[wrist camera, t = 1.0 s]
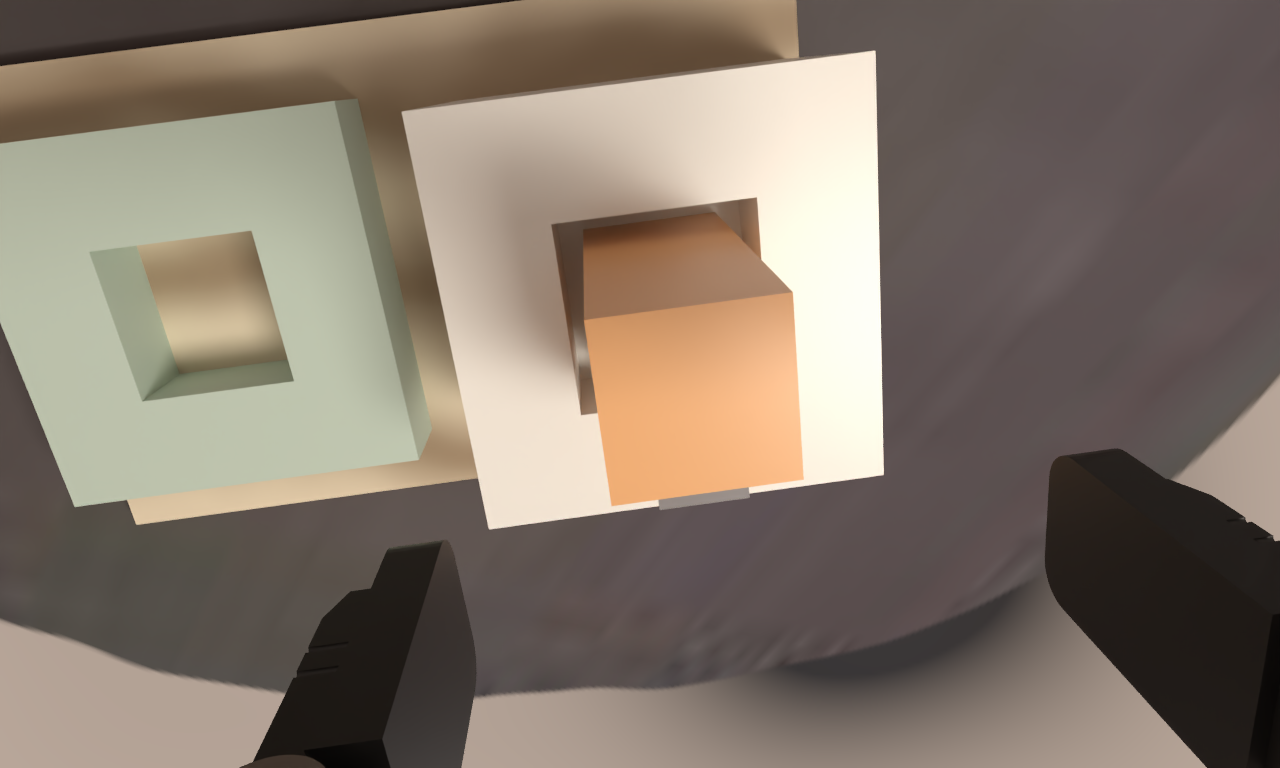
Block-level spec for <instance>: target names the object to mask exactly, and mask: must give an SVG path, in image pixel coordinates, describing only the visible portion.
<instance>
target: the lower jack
mask: <svg viewBox="0 0 1280 768" xmlns="http://www.w3.org/2000/svg"><path fill="white" fill-rule="evenodd" d="M244 231H252V234H253V238H254V241H255V245H256V249H257V252H258V256H259V259H260V263H261V266H262V270H263V273H264V277H265V280H266V284H267V287H268V291H269V294H270V298H271V301H272V305H273V309H274V312H275V316H276V319H277V323H278V326H279V330H280V333H281V337H282V340H283V344H284V347H285V351H286V354H287V358H288V360H280V361H273V362H265V363H258V364H251V365H243V366H236V367H228V368H221V369H213V370H206V371H198V372H191V373H183V374H179V371H178V368H177V365H176V362H175V359H174V356H173V353H172V350H171V347H170V344H169V341H168V338H167V335H166V332H165V329H164V326H163V323H162V320H161V317H160V314H159V311H158V308H157V305H156V302H155V299H154V296H153V293H152V290H151V287H150V284H149V281H148V278H147V275H146V272H145V269H144V266H143V263H142V260H141V257H140V254H139V251H138V248H137V245H145V244H153V243H160V242H168V241H176V240H183V239H191V238H199V237H206V236H214V235H222V234H229V233H237V232H244ZM0 323H1V326H2V328H3V331H4V333H5V336H6V338H7V340H8V343H9V345H10V348H11V350H12V353H13V355H14V358H15V360H16V363H17V365H18V368H19V370H20V373H21V375H22V378H23V380H24V382H25V385H26V387H27V390H28V392H29V395H30V397H31V400H32V402H33V405H34V407H35V410H36V412H37V415H38V417H39V420H40V422H41V425H42V427H43V429H44V432H45V434H46V437H47V439H48V442H49V444H50V447H51V449H52V452H53V454H54V457H55V459H56V462H57V464H58V467H59V469H60V472H61V474H62V476H63V479H64V481H65V484H66V486H67V489H68V491H69V494H70V496H71V499H72V501H73V504H74V506H75V507H78V506H85V505H93V504H100V503H107V502H115V501H122V500H129V499H137V498H144V497H151V496H159V495H166V494H173V493H181V492H188V491H195V490H203V489H210V488H217V487H225V486H232V485H239V484H247V483H254V482H261V481H269V480H276V479H283V478H291V477H298V476H305V475H313V474H320V473H327V472H335V471H342V470H349V469H357V468H364V467H371V466H379V465H386V464H393V463H400V462H408V461H415V460H419V459H420V456H421V454H422V452H423V449H424V447H425V445H426V442H427V440H428V437H429V435H430V433H431V430H432V426H431V421H430V417H429V412H428V408H427V404H426V399H425V395H424V390H423V386H422V381H421V377H420V373H419V368H418V364H417V359H416V355H415V351H414V346H413V342H412V337H411V333H410V328H409V324H408V320H407V315H406V311H405V306H404V302H403V297H402V293H401V289H400V284H399V280H398V275H397V271H396V266H395V262H394V258H393V253H392V249H391V244H390V240H389V236H388V231H387V227H386V222H385V218H384V213H383V209H382V205H381V200H380V196H379V191H378V187H377V182H376V178H375V174H374V169H373V165H372V160H371V156H370V151H369V147H368V143H367V138H366V134H365V129H364V125H363V121H362V116H361V112H360V107H359V103H358V99H348V100H338V101H329V102H322V103H314V104H306V105H298V106H290V107H282V108H275V109H267V110H259V111H251V112H243V113H236V114H228V115H220V116H212V117H204V118H197V119H189V120H181V121H173V122H165V123H157V124H150V125H142V126H134V127H126V128H118V129H111V130H103V131H95V132H87V133H79V134H72V135H64V136H56V137H48V138H40V139H32V140H25V141H17V142H9V143H1V144H0Z"/></svg>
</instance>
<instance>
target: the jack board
mask: <svg viewBox="0 0 1280 768" xmlns="http://www.w3.org/2000/svg"><path fill="white" fill-rule="evenodd" d="M798 57H799V49H798V29H797V9H796V0H521V1H513V2H505V3H497V4H489V5H481V6H473V7H465V8H457V9H449V10H442V11H434V12H426V13H418V14H410V15H402V16H394V17H386V18H378V19H370V20H362V21H354V22H346V23H339V24H331V25H323V26H315V27H307V28H299V29H291V30H283V31H275V32H267V33H259V34H251V35H244V36H236V37H228V38H220V39H212V40H204V41H196V42H188V43H180V44H172V45H164V46H156V47H148V48H141V49H133V50H125V51H117V52H109V53H101V54H93V55H85V56H77V57H69V58H61V59H53V60H46V61H38V62H30V63H22V64H14V65H6V66H0V144H1V143H9V142H17V141H25V140H32V139H40V138H48V137H56V136H64V135H72V134H79V133H87V132H95V131H103V130H111V129H118V128H126V127H134V126H142V125H150V124H157V123H165V122H173V121H181V120H189V119H197V118H204V117H212V116H220V115H228V114H236V113H243V112H251V111H259V110H267V109H275V108H282V107H290V106H298V105H306V104H314V103H322V102H329V101H338V100H348V99H358V103H359V107H360V112H361V116H362V121H363V125H364V129H365V134H366V138H367V143H368V147H369V151H370V156H371V160H372V165H373V169H374V174H375V178H376V182H377V187H378V191H379V196H380V200H381V205H382V209H383V213H384V218H385V222H386V227H387V231H388V236H389V240H390V244H391V249H392V253H393V258H394V262H395V266H396V271H397V275H398V280H399V284H400V289H401V293H402V297H403V302H404V306H405V311H406V315H407V320H408V324H409V328H410V333H411V337H412V342H413V346H414V351H415V355H416V359H417V364H418V368H419V373H420V377H421V381H422V386H423V390H424V395H425V399H426V404H427V408H428V412H429V417H430V421H431V426H432V430H431V433H430V435H429V437H428V440H427V442H426V445H425V447H424V449H423V452H422V454H421V456H420V459H419V460H415V461H408V462H400V463H393V464H386V465H379V466H371V467H364V468H357V469H349V470H342V471H335V472H327V473H320V474H313V475H305V476H298V477H291V478H283V479H276V480H269V481H261V482H254V483H247V484H239V485H232V486H225V487H217V488H210V489H203V490H195V491H188V492H181V493H173V494H166V495H159V496H151V497H144V498H137V499H129V500H127V501H128V504H129V506H130V509H131V512H132V514H133V517H134V520H135V522H136V525H139V524H146V523H153V522H160V521H168V520H175V519H182V518H190V517H197V516H204V515H212V514H219V513H226V512H233V511H241V510H248V509H255V508H263V507H270V506H277V505H284V504H292V503H299V502H306V501H314V500H321V499H328V498H336V497H343V496H350V495H357V494H365V493H372V492H379V491H387V490H394V489H401V488H409V487H416V486H423V485H430V484H438V483H445V482H452V481H460V480H467V479H474V478H478V474H477V470H476V465H475V460H474V455H473V451H472V446H471V441H470V436H469V432H468V427H467V422H466V417H465V412H464V408H463V403H462V398H461V393H460V389H459V384H458V379H457V374H456V370H455V365H454V360H453V355H452V350H451V346H450V341H449V336H448V331H447V327H446V322H445V317H444V312H443V308H442V303H441V298H440V293H439V288H438V284H437V279H436V274H435V269H434V265H433V260H432V255H431V250H430V246H429V241H428V236H427V231H426V226H425V222H424V217H423V212H422V207H421V203H420V198H419V193H418V188H417V184H416V179H415V174H414V169H413V164H412V160H411V155H410V150H409V145H408V141H407V136H406V131H405V126H404V122H403V117H402V111H407V110H412V109H417V108H423V107H428V106H433V105H438V104H443V103H448V102H453V101H459V100H467V99H475V98H482V97H490V96H498V95H506V94H514V93H521V92H529V91H537V90H545V89H553V88H560V87H568V86H576V85H584V84H591V83H599V82H607V81H615V80H623V79H630V78H638V77H646V76H654V75H662V74H669V73H677V72H685V71H693V70H701V69H708V68H716V67H724V66H732V65H740V64H747V63H755V62H763V61H771V60H778V59H787V58H798ZM137 248H138V251H139V254H140V257H141V260H142V263H143V266H144V269H145V272H146V275H147V278H148V281H149V284H150V287H151V290H152V293H153V296H154V299H155V302H156V305H157V308H158V311H159V314H160V317H161V320H162V323H163V326H164V329H165V332H166V335H167V338H168V341H169V344H170V347H171V350H172V353H173V356H174V359H175V362H176V365H177V368H178V371H179V374H183V373H191V372H198V371H206V370H213V369H221V368H228V367H236V366H243V365H251V364H258V363H265V362H273V361H280V360H288V358H287V354H286V351H285V347H284V344H283V340H282V337H281V333H280V330H279V326H278V323H277V319H276V316H275V312H274V309H273V305H272V301H271V298H270V294H269V291H268V287H267V284H266V280H265V277H264V273H263V270H262V266H261V263H260V259H259V256H258V252H257V249H256V245H255V241H254V238H253V234H252V231H244V232H237V233H229V234H222V235H214V236H206V237H199V238H191V239H183V240H176V241H168V242H160V243H153V244H145V245H137Z"/></svg>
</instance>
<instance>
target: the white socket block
mask: <svg viewBox="0 0 1280 768" xmlns="http://www.w3.org/2000/svg"><path fill="white" fill-rule="evenodd" d="M402 117H403V122H404V126H405V131H406V136H407V141H408V145H409V150H410V155H411V160H412V164H413V169H414V174H415V179H416V184H417V188H418V193H419V198H420V203H421V207H422V212H423V217H424V222H425V226H426V231H427V236H428V241H429V246H430V250H431V255H432V260H433V265H434V269H435V274H436V279H437V284H438V288H439V293H440V298H441V303H442V308H443V312H444V317H445V322H446V327H447V331H448V336H449V341H450V346H451V350H452V355H453V360H454V365H455V370H456V374H457V379H458V384H459V389H460V393H461V398H462V403H463V408H464V412H465V417H466V422H467V427H468V432H469V436H470V441H471V446H472V451H473V455H474V460H475V465H476V470H477V474H478V479H479V484H480V489H481V494H482V498H483V503H484V508H485V513H486V517H487V522H488V527H489V529H496V528H503V527H510V526H517V525H524V524H532V523H539V522H546V521H553V520H561V519H568V518H575V517H582V516H590V515H597V514H604V513H611V512H618V511H626V510H633V509H640V508H647V507H655V506H659V502H658V500H653V501H646V502H638V503H631V504H624V505H617V506H611V499H610V492H609V486H608V479H607V472H606V465H605V459H604V452H603V445H602V439H601V432H600V425H599V419H598V412H597V405H596V398H595V392H594V385H593V378H592V372H591V365H590V358H589V352H588V345H587V338H586V331H585V325H584V270H583V229H590V228H598V227H605V226H613V225H621V224H628V223H636V222H643V221H651V220H659V219H666V218H674V217H681V216H689V215H697V214H704V213H712V212H715V213H716V214H717V215H718V216H719V217H720V218H721V219H722V220H723V221H724V222H725V223H726V224H727V225H728V226H729V227H730V228H731V229H732V230H733V231H734V232H735V233H736V234H737V235H738V236H739V237H740V238H741V239H742V240H743V241H744V242H745V244H746V245H747V246H748V247H749V248H750V249H751V250H752V251H753V252H754V253H755V254H756V255H757V256H758V257H759V258H760V259H761V260H762V261H763V262H764V263H765V264H766V265H767V266H768V267H769V268H770V269H771V270H772V271H773V272H774V273H775V274H776V275H777V276H778V277H779V278H780V279H781V280H782V281H783V282H784V283H785V284H786V285H787V287H788V288H789V289H790V290H791V291H792V292H793V301H794V319H795V336H796V354H797V371H798V389H799V406H800V424H801V441H802V459H803V476H804V480H798V481H790V482H783V483H776V484H769V485H761V486H754V487H749V493H756V492H763V491H770V490H778V489H785V488H792V487H799V486H807V485H814V484H821V483H828V482H835V481H843V480H850V479H857V478H864V477H872V476H879V475H884V467H883V415H882V364H881V313H880V261H879V210H878V159H877V108H876V56H875V51H867V52H855V53H844V54H832V55H821V56H810V57H798V58H787V59H778V60H771V61H763V62H755V63H747V64H740V65H732V66H724V67H716V68H708V69H701V70H693V71H685V72H677V73H669V74H662V75H654V76H646V77H638V78H630V79H623V80H615V81H607V82H599V83H591V84H584V85H576V86H568V87H560V88H553V89H545V90H537V91H529V92H521V93H514V94H506V95H498V96H490V97H482V98H475V99H467V100H459V101H453V102H448V103H443V104H438V105H433V106H428V107H423V108H417V109H412V110H407V111H402Z"/></svg>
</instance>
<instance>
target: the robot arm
mask: <svg viewBox="0 0 1280 768" xmlns="http://www.w3.org/2000/svg"><path fill="white" fill-rule="evenodd" d="M1045 568H1046V574H1047V578H1048V582H1049V584H1050V588H1051V590H1052V592H1053V594H1054V596H1055V598H1056V600H1057V602H1058V603H1059V605H1060V606H1061V607H1062V608H1063V610H1064V611H1065V612H1066V613H1067V614H1068V615H1069V616H1070V617H1071V618H1072V620H1073V621H1074V622H1075V623H1076V624H1077V625H1078V626H1079V627H1080V628H1081V629H1082V631H1083V632H1084V633H1085V634H1086V635H1087V636H1088V637H1089V638H1090V639H1091V640H1092V641H1093V643H1094V644H1095V645H1096V646H1097V647H1098V648H1099V649H1100V650H1101V651H1102V652H1103V654H1104V655H1105V656H1106V657H1107V658H1108V659H1109V660H1110V661H1111V662H1112V664H1113V665H1114V666H1116V668H1117V669H1118V670H1119V671H1120V672H1121V674H1122V675H1124V677H1125V678H1126V679H1127V680H1128V681H1129V682H1130V683H1131V685H1133V687H1134V688H1135V689H1136V690H1137V691H1138V692H1139V693H1140V694H1141V695H1142V697H1143V698H1144V699H1145V700H1146V701H1147V702H1148V703H1149V704H1150V705H1151V707H1152V708H1153V709H1154V710H1155V711H1156V712H1157V713H1158V714H1159V715H1160V716H1161V718H1162V719H1163V720H1164V721H1165V722H1166V723H1167V724H1168V725H1169V726H1170V727H1171V729H1172V730H1173V731H1174V732H1175V733H1176V734H1177V735H1178V736H1179V737H1180V738H1181V740H1182V741H1183V742H1184V743H1185V744H1186V745H1187V746H1188V747H1189V748H1190V749H1191V751H1192V752H1193V753H1194V754H1195V755H1196V756H1197V757H1198V758H1199V759H1200V760H1201V762H1202V763H1203V764H1204V765H1205V766H1206V767H1207V768H1280V541H1274V539H1273V535H1271V534H1269V533H1268V532H1266V531H1265V530H1263V529H1262V528H1260V527H1259V526H1257V525H1256V524H1254V523H1253V522H1248V523H1247V522H1246V520H1245V517H1244V516H1242V515H1241V514H1239V513H1238V512H1236V511H1235V510H1233V509H1231V508H1230V507H1229V506H1227V505H1225V504H1224V503H1223V502H1221V501H1220V500H1218V499H1216V498H1215V497H1213V496H1212V495H1209V494H1207V493H1204V492H1201V491H1199V490H1196V489H1193V488H1191V487H1188V486H1185V485H1182V484H1180V483H1177V482H1174V481H1172V480H1169V479H1165V478H1163V477H1162V476H1160V475H1159V474H1158V473H1156V472H1155V471H1153V470H1152V469H1150V468H1149V467H1147V466H1146V465H1144V464H1143V463H1141V462H1140V461H1139V460H1137V459H1136V458H1134V457H1133V456H1131V455H1130V454H1128V453H1127V452H1125V451H1123V450H1121V449H1108V450H1101V451H1094V452H1087V453H1080V454H1072V455H1065V456H1060V457H1058V458H1057V459H1055V461H1054V462H1053V464H1052V466H1051V470H1050V476H1049V493H1048V511H1047V529H1046V547H1045ZM308 648H309V653H305V655H304V657H303V659H302V661H301V663H300V666H299V668H298V670H297V677H296V678H293V680H292V682H291V684H290V686H289V688H288V690H287V692H286V694H285V697H284V699H283V701H282V703H281V705H280V707H279V709H278V711H277V713H276V715H275V717H274V719H273V721H272V724H271V725H270V728H269V730H268V732H267V734H266V736H265V738H264V740H263V742H262V744H261V746H260V749H259V750H258V753H257V754H256V756H255V759H254V761H253V762H252V763H249V764H247V765H244V766H242V767H240V768H461V766H462V760H463V754H464V749H465V743H466V738H467V732H468V726H469V720H470V715H471V709H472V704H473V698H474V693H475V686H476V656H475V647H474V641H473V636H472V631H471V627H470V623H469V618H468V614H467V609H466V605H465V601H464V596H463V592H462V588H461V583H460V579H459V574H458V570H457V566H456V561H455V557H454V553H453V550H452V548H451V545H450V544H449V542H448V541H447V540H441V541H434V542H427V543H420V544H412V545H405V546H398V547H391V548H389V549H388V550H387V552H386V554H385V556H384V559H383V561H382V563H381V566H380V568H379V571H378V573H377V575H376V578H375V580H374V583H373V585H372V587H371V589H365V590H358V591H351V592H349V593H348V594H347V595H346V596H345V597H344V598H343V599H342V600H341V601H340V602H339V603H338V604H337V605H336V606H335V607H334V608H333V609H332V610H331V611H330V612H328V613H327V614H326V615H325V616H324V617H323V618H322V620H321V622H320V624H319V626H318V628H317V630H316V632H315V635H314V637H313V639H312V641H311V643H310V645H309V647H308Z"/></svg>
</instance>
